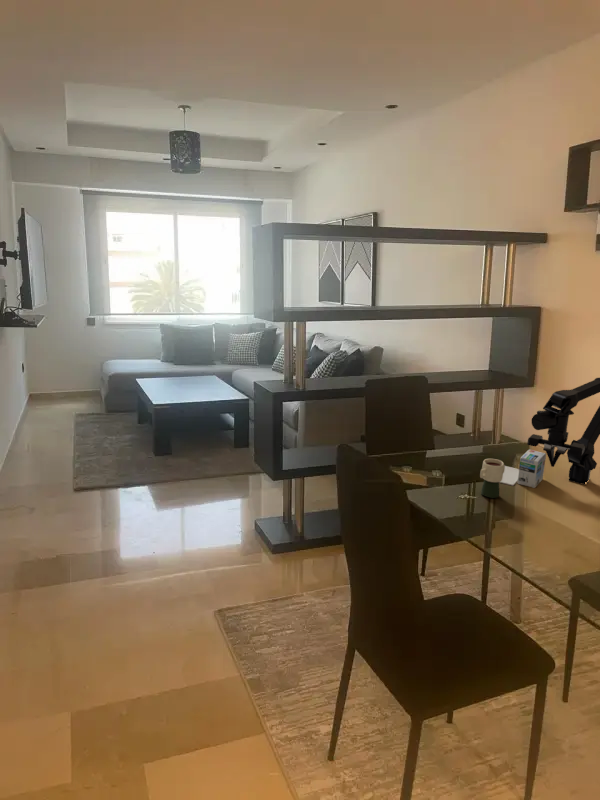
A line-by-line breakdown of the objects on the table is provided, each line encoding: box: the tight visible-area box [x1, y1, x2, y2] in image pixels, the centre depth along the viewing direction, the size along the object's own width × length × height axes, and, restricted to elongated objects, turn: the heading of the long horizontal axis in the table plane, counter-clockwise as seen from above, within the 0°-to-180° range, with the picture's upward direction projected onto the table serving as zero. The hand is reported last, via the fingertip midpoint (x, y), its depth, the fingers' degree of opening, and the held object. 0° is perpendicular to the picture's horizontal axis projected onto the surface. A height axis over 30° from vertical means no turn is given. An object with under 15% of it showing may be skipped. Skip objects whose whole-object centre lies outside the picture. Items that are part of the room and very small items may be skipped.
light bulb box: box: [516, 449, 547, 489], centre depth 226 cm, size 11×7×11 cm, turn 143°
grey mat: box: [499, 465, 519, 487], centre depth 233 cm, size 12×16×1 cm
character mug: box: [479, 458, 506, 499], centre depth 213 cm, size 11×7×13 cm, turn 116°
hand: (552, 466), depth 221 cm, fingers closed
